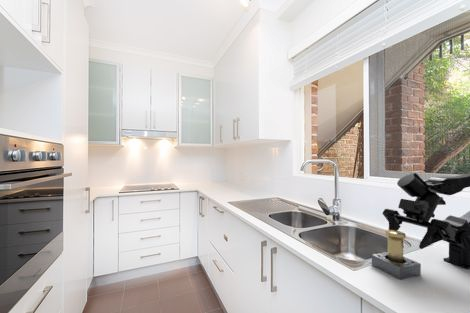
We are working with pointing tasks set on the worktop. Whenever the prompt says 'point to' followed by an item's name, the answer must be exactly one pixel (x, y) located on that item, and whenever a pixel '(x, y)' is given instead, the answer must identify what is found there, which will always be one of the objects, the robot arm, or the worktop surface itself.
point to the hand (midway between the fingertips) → (403, 242)
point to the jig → (396, 266)
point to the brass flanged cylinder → (395, 245)
